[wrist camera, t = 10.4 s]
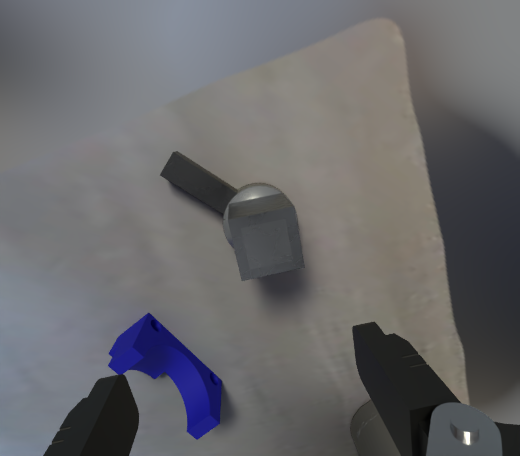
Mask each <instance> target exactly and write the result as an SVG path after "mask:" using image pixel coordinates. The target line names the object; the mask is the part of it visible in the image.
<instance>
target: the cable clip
mask: <svg viewBox="0 0 520 456" xmlns="http://www.w3.org/2000/svg"><path fill="white" fill-rule="evenodd" d="M109 355H111V356H112V357H113V358H112V359H111V361H110V363H109V365H108V366H109V367H110V368H111V369H112V370H114V371H115V372H116V373H117V374H118V375H120V374H123V373H125V372H126V371H127V370H138V371H141V372H144V373H146V374H148V375H149V376H151V377H152V378H154V379H156V378H157V377H158V376H159V375H161V374H162V373H163V372H166V373H167V374H168V375H169V376H170V378H171V379H172V380H173V381H174V383H175V384H176V386H177V388H178V389H179V391H180V393H181V395H182V398H183V401H184V404H185V407H186V412H187V432H188V433H189V434H191V435H192V436H193V437H194V438H195V439H199V438H200V437H202V436H203V435H204V434H206V433H207V432H209V431H210V430H211V429H213V428H214V427H216V426H217V425H218V424H220V407H221V386H222V380H221V379H220V378H218V377H217V376H216V375H215V374H214V373H213V372H212V371H211V370H210V369H209V368H208V367H207V366H206V365H205V364H203V363H202V362H201V361H200V360H199V359H198V358H197V357H196V356H195V355H194V354H193V353H192V352H191V351H190V350H188V349H187V348H186V347H185V346H184V345H183V344H182V343H181V342H180V341H179V340H178V339H177V338H176V337H174V336H173V335H172V334H171V333H170V332H169V331H168V330H167V329H166V328H165V327H164V326H163V325H162V324H161V323H159V322H158V321H157V320H156V319H155V318H154V317H153V316H152V315H151V314H150V313H148V314H146V315H145V316H144V317H143V318H141V319H140V320H139V321H138V322H136V323H135V324H134V325H133V326H131V327H130V328H129V329H128V330H126V331H125V332H124V333H123V334H121V335H120V336H119V337H118V338H117V340H116V342H115V343H114V345H113V347H112V349H111V350H110V352H109Z"/></svg>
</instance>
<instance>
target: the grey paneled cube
mask: <svg viewBox="0 0 520 456" xmlns="http://www.w3.org/2000/svg"><path fill="white" fill-rule="evenodd" d="M228 224H229V228H230V232H231V237H232V241H233V245H234V249H235V254H236V258H237V262H238V267H239V271H240V275H241V279H242V281H245V280H249V279H254V278H259V277H263V276H268V275H273V274H277V273H282V272H286V271H291V270H296V269H300V268H305V267H304V261H303V255H302V249H301V243H300V237H299V231H298V225H297V219H296V213H295V207H294V205H293V204H292V203H291V202H290V201H289V200H288V199H287V197H286V196H285V195H284V194H283V193H278V194H274V195H269V196H264V197H259V198H254V199H250V200H245V201H240V202H235V203H231V204H229V209H228Z"/></svg>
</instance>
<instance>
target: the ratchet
mask: <svg viewBox="0 0 520 456" xmlns="http://www.w3.org/2000/svg"><path fill="white" fill-rule="evenodd" d="M160 176H162V177H164V178H165V179H167V180H169V181H170V182H172V183H173V184H175V185H177V186H178V187H180V188H182V189H183V190H185V191H186V192H188V193H190V194H191V195H193V196H195V197H196V198H198V199H199V200H201V201H203V202H204V203H206V204H208V205H209V206H211V207H212V208H214V209H216V210H217V211H219V212H221V213H222V214H224V218H223V229H224V233H225V236H226V238H227V240H228V242H229V243H230V245H231V246H232V247H233V248H234V245H233V241H232V237H231V232H230V228H229V224H228V209H229V204H231V203H235V202H240V201H245V200H250V199H254V198H259V197H264V196H269V195H274V194H278V193H283V192H282V191H281V190H279V189H278V188H276V187H274V186H272V185H270V184H266V183H252V184H248V185H246V186H243V187H241V188H240V189H238V190H237V189H235V188H234V187H232V186H231V185H229V184H228V183H226V182H224V181H223V180H221V179H220V178H218V177H217V176H215V175H214V174H212V173H210V172H209V171H207V170H206V169H204V168H203V167H201V166H200V165H198V164H196V163H195V162H193V161H192V160H190V159H189V158H187V157H186V156H184V155H182V154H181V153H179V152H178V151H176V152H173V153H172V155H171V157H170V159H169V160H168V162H167V164H166V165H165V167H164V169H163V171H162V172H161V174H160ZM283 194H284V193H283ZM284 195H285V194H284ZM285 196H286V195H285ZM286 197H287V196H286ZM287 199H288V198H287ZM288 200H289V199H288ZM289 201H290V200H289ZM290 202H291V201H290ZM291 203H292V202H291ZM295 213H296V211H295ZM296 219H297V214H296Z"/></svg>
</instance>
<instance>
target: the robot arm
mask: <svg viewBox="0 0 520 456" xmlns="http://www.w3.org/2000/svg"><path fill="white" fill-rule="evenodd" d="M352 331H353V340H354V349H355V357H356V364H357V369H358V372H359V375H360V378H361V380H362V382H363V384H364V386H365V388H366V390H367V392H368V394H369V396H370V398H371V401H369V402H368V403H366V404H365V405H363V406H362V407H361V408H360V409H359V410H358V411H357V413H356V414H355V415H354V417H353V420H352V422H351V435H352V438H353V440H354V443H355V445H356V448H357V451H358V453H359V456H520V425H513V424H503V423H498V422H493V421H492V419H490V418H489V417H488V416H487V415H486V414H484V413H483V412H481V411H480V410H478V409H476V408H474V407H471V406H469V405H466V404H462V403H461V402H460V401H459V400H458V399H457V398H456V396H455V395H454V394H453V393H452V392H451V391H450V389H449V388H448V387H447V386H446V385H445V384H444V383H443V381H442V380H441V379H440V378H439V377H438V376H437V374H436V373H435V372H434V371H433V370H432V369H431V367H430V366H429V365H427V364H426V362H425V360H424V359H423V358H422V357H421V356H420V355H418V352H417V351H416V350H415V349H414V348H413V346H412V345H411V344H410V343H409V342H408V341H407V340H405V339H403V338H401V337H400V336H398V335H396V334H395V333H393V334H389V335H385V334H384V333H383V331H382V330H381V329H380V327H379V326H378V325H377V324H376V323H375V322H370V323H365V324H360V325H356V326H353V329H352ZM138 425H139V413H138V408H137V405H136V403H135V400H134V397H133V395H132V392H131V389H130V387H129V384H128V381H127V379H126V377H125V375H123V374H120V375H115V376H110V377H105V378H101V379H99V380H98V381H97V382H96V383H95V385H94V387H93V389H92V391H91V392H90V394H89V396H88V398H83V399H82V400H81V401H80V402H79V403H78V404H77V405H76V406H75V407H74V408H73V409H72V410H71V411H70V412H69V414H68V415H67V417H66V419H65V420H64V422H63V424H62V425H61V427H60V431H58V432H57V434H56V435H55V437H54V439H53V440H52V445H49V447H48V449H47V450H46V452H45V454H44V455H43V456H129V454H130V451H131V448H132V445H133V442H134V439H135V436H136V433H137V430H138Z"/></svg>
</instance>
